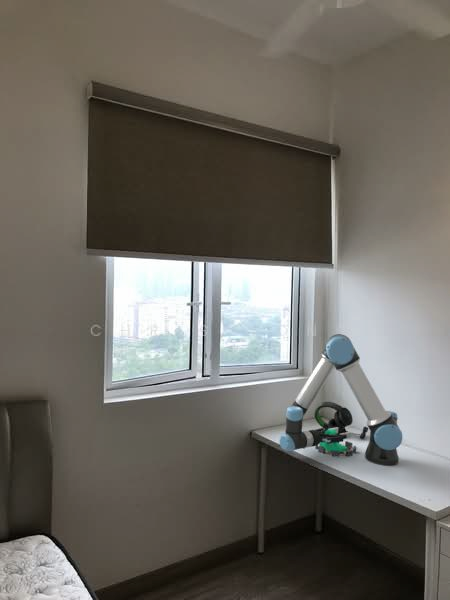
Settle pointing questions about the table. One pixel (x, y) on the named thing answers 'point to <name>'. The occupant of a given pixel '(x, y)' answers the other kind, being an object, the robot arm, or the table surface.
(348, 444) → the ring collar
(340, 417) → the headset
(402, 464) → the table surface
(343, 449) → the camera mount
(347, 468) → the table surface
